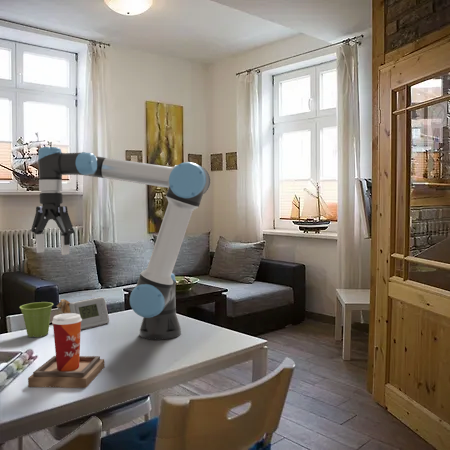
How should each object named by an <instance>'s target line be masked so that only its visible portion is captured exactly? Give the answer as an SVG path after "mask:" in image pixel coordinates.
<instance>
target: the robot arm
mask: <svg viewBox="0 0 450 450" xmlns="http://www.w3.org/2000/svg"><path fill="white" fill-rule="evenodd" d="M37 157H38V159H37V162H38V176H39V177H38V190H39V191H38V192H40V193H39V204H41V205H42V206H41V205H40V206H38V205H37V206H36V207H35V215H34V219H33V222H32V225H31V229H30V232H31V233H34V235H35V243H36V244H35V246H36V253H37V254H39V253H45V234H44V230H45V229H46V227H47V224H48V223H49V221H50V220H53V221H54V222H55V223H56V225H57V226H58V228H59V230H60V232H61V235H60V242H61V243H60V247H61V250H60V251H61V255H62V256H66V255H70V254H71V253H70V244H71V237H70V236H71V235H72V234H75V229H74V226H73V223H72V221H71V219H70V215H69V213H68V206H64V205H63V206H62V205H61V204H63V198H64V197H63V193H61V192H62V191H63V176H71V175H72V176H75V175H76V176H85V177H87V176H88V177H93V178H101V179H108V180H115V181H121V182H122V181H123V182H127V183H135V184H140V185H148V186H153V187H160V188H166V189H167V192H166V194H165V197H166V200H167V202H168V203H167V206H166V209H165V213H164V216H163V218H162V222H161V225H160V227H159V231H158V234H157V237H156V240H155V241H154V242H155V243H154V246H153V249H152V252H151V256H150V257H149V262H148V264H147V267H146V269H144V270H142V271H141V272H140V274H139V277H138V280H137V283H136V286H135V287H134V288H133V289H132V291H131V293H130V295H129V305H130V307H131V310H133V312H134V313H135V314H136V315H138V316H140V317H141V318H142V321H141V323H140V328H139V337H141V338H142V339H145V340H146V339H147V340H151V341H152V340H153V341H155V340H156V341H157V340H158V341H160V340H169V339H174V338H177V337H179V336H180V335H182V328H181V324H180V321H179V318H178V315H177V310H176V309H177V308H176V307H177V306H176V299H177V298H176V283H177V280H176V275H175V273H173V271H174V268H175V265H176V262H177V259H178V257H179V253H180V250H181V247H182V244H183V241H184V238H185V235H186V232H187V229H188V225H189V223H190V221H191V218H192V214H193V212H194V211H195V210H197V209H199V207H200V205H201V203H202V202H201V201H202V200H203V197H204V194H206V193H207V191H209V188H210V186H211V177H210V173H209V172H208V171H207V169H206V168H205V167H204V166H202V165H199V163H198V164H197V163H195V162H191V161H185V162H181V163H179V164H175V165H174V166H167V165H166V166H165V165H159V164H151V163H144V162H140V161H138V162H137V161H130V160H124V159H118V158H117V159H116V158H110V157H104V156H103V157H102V156H97V155H95V154H94V153H92V152H84V151H82V152H67V153H66V152H62V148H60V147H58V146H56V147H55V146H42V147H39V149H38V156H37Z"/></svg>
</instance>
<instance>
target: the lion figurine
mask: <svg viewBox="0 0 450 450" xmlns="http://www.w3.org/2000/svg"><path fill="white" fill-rule="evenodd" d="M70 303H71V302H70V301H68V300H67V299H63V298H62V299H60V302H58V304H57V305H56V308H57V309H58V310H60V311H61V312H62V314H66V313H71V312H70V307H69V304H70Z"/></svg>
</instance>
